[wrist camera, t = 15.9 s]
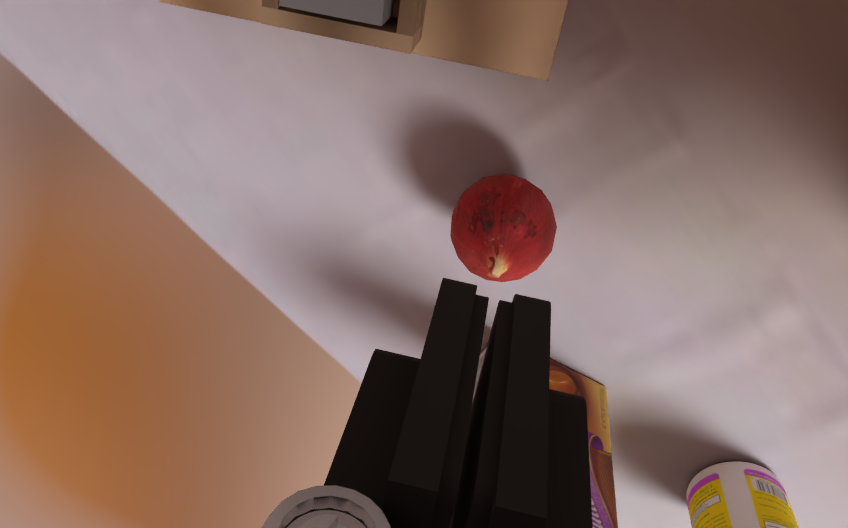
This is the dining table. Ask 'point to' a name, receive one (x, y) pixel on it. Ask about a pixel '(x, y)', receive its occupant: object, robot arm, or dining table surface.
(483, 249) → the pomegranate
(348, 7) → the charcoal key
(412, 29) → the wooden shape sorter board
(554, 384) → the candy box
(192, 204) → the dining table surface
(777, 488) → the supplement bottle
